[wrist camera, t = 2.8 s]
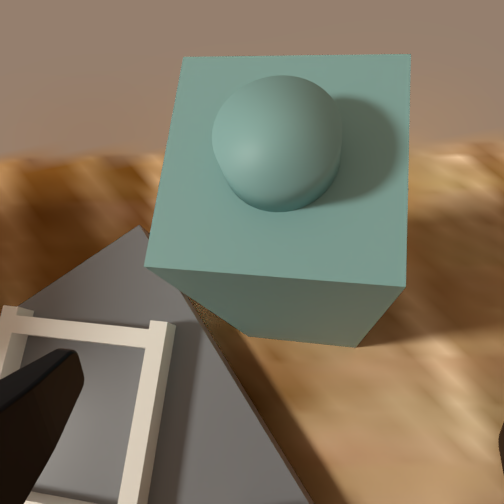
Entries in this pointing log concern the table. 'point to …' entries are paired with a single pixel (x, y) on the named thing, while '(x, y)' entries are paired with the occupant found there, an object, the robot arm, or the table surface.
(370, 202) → the teal post
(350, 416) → the table surface
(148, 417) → the baseboard
